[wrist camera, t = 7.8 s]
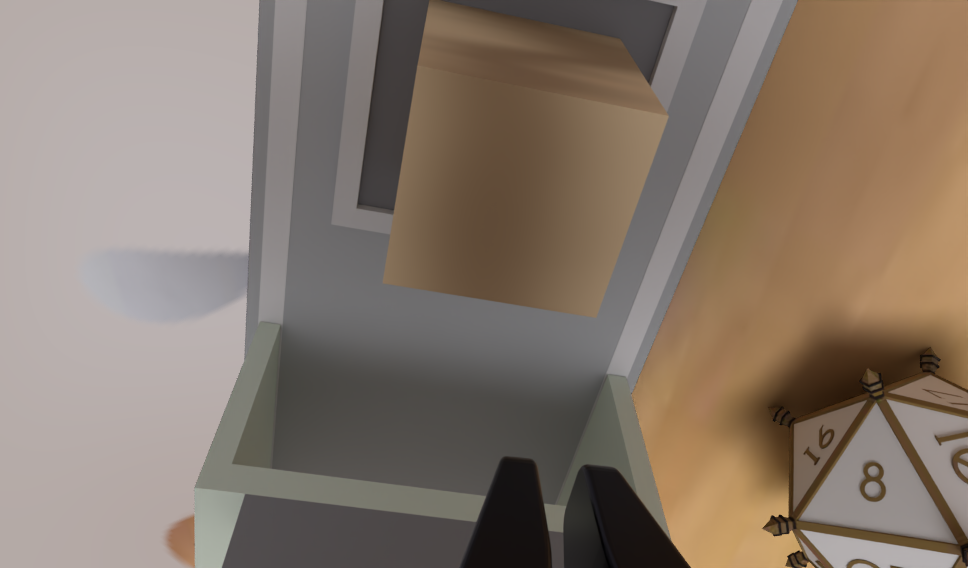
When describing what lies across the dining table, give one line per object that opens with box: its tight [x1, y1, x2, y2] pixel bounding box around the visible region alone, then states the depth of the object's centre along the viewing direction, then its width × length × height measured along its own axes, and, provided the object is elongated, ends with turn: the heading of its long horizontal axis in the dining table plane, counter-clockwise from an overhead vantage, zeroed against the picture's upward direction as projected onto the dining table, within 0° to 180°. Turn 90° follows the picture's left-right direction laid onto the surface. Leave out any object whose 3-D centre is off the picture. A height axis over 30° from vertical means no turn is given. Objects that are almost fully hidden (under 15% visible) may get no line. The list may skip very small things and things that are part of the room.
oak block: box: [383, 0, 669, 318], centre depth 16 cm, size 4×4×5 cm
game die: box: [762, 348, 968, 568], centre depth 22 cm, size 9×8×10 cm
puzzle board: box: [245, 0, 798, 505], centre depth 20 cm, size 12×24×1 cm, turn 168°
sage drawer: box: [194, 322, 672, 568], centre depth 21 cm, size 11×7×8 cm, turn 78°
